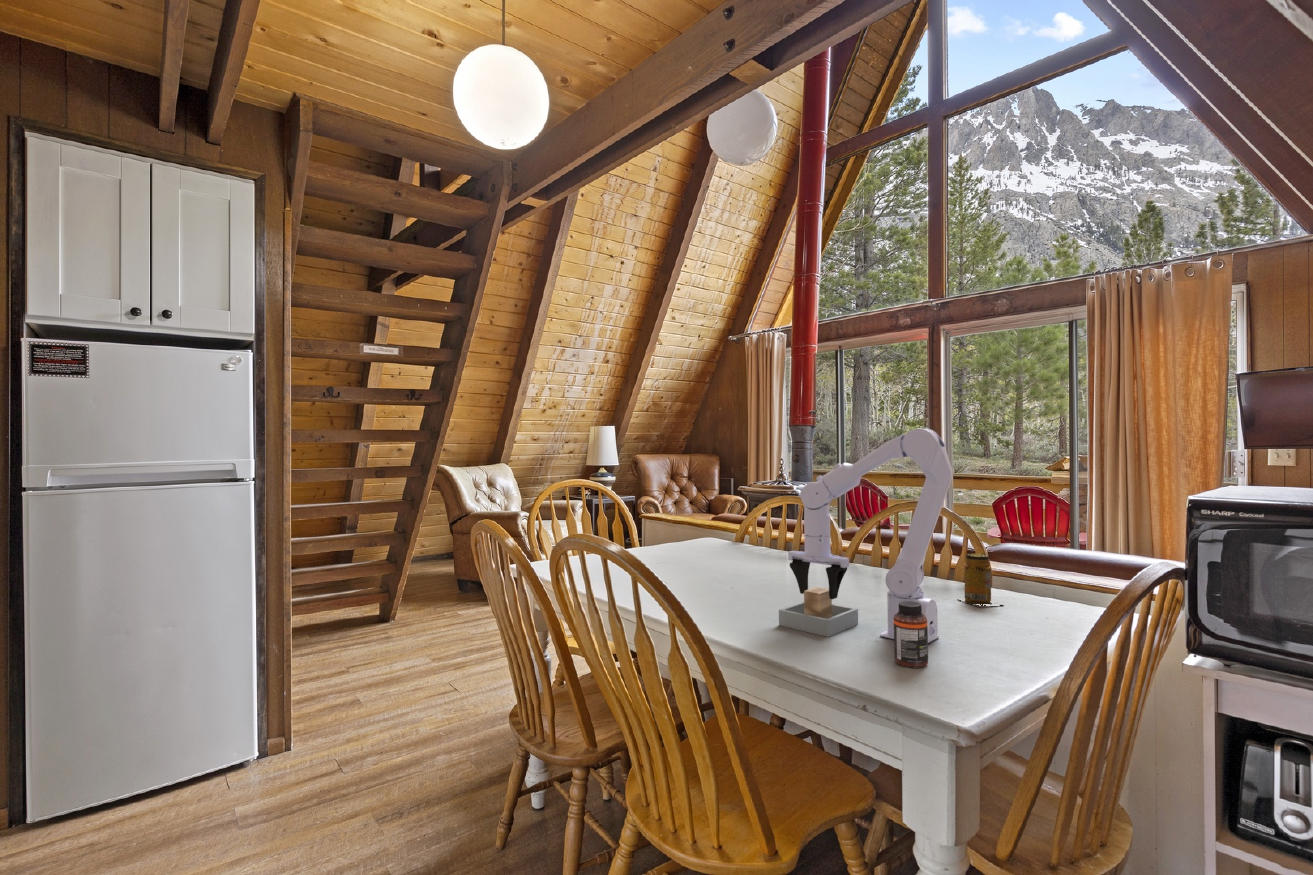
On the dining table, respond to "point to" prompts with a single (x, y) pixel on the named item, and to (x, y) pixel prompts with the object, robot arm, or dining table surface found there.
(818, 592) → the carton
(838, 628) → the tray
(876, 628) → the dining table surface
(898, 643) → the supplement bottle
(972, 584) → the condiment
